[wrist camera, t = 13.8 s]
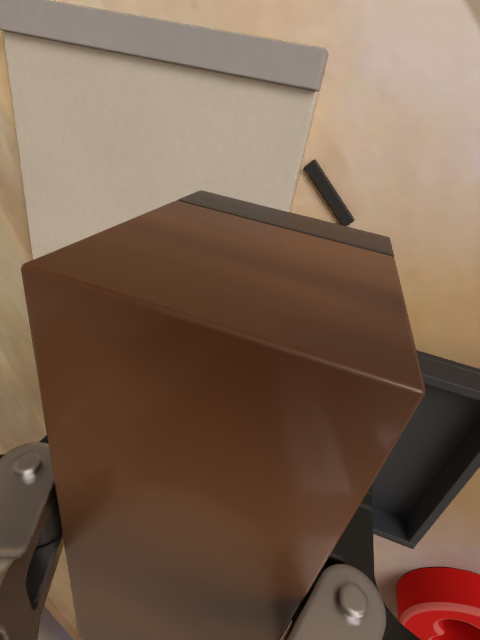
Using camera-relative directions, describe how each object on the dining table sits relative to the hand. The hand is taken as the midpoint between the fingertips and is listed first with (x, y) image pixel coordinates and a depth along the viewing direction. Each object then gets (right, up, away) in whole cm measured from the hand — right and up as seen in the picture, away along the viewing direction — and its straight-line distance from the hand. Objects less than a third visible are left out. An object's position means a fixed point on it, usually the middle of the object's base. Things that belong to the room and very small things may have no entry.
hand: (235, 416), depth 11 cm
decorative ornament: (+20, -22, +22) cm, 37 cm away
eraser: (0, +1, +1) cm, 1 cm away
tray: (+11, -6, +16) cm, 20 cm away
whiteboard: (-6, +9, +14) cm, 17 cm away
